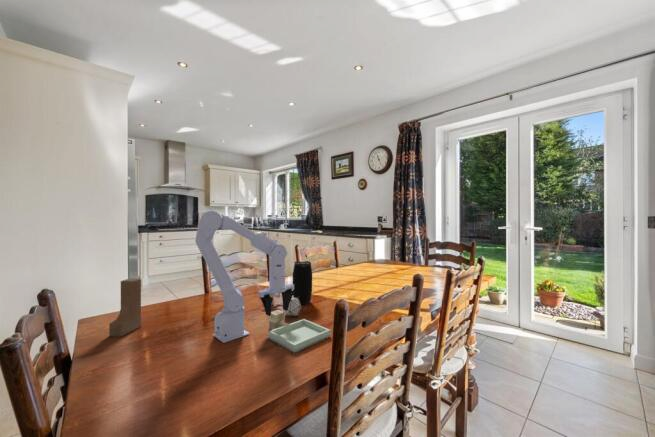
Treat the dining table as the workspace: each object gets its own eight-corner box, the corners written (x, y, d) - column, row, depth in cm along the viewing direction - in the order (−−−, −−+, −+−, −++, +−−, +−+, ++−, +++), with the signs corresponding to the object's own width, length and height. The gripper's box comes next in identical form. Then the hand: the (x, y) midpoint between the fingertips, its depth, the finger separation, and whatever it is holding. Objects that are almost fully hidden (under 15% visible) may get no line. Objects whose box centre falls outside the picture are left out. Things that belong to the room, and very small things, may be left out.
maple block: (275, 331, 100) (275, 315, 100) (269, 328, 103) (269, 312, 103) (284, 328, 103) (284, 312, 103) (278, 325, 106) (278, 309, 106)
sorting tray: (294, 353, 85) (294, 345, 85) (268, 338, 94) (268, 331, 94) (330, 337, 96) (330, 329, 96) (304, 325, 106) (304, 318, 106)
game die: (295, 323, 117) (309, 302, 120) (291, 323, 109) (306, 301, 112) (279, 310, 120) (292, 291, 122) (273, 310, 112) (288, 288, 114)
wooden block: (120, 337, 94) (120, 284, 94) (108, 336, 95) (108, 284, 94) (141, 326, 103) (141, 278, 103) (130, 326, 104) (130, 278, 103)
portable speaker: (289, 302, 133) (289, 261, 133) (305, 298, 139) (306, 259, 139) (298, 307, 126) (298, 264, 126) (315, 303, 132) (315, 262, 132)
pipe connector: (270, 309, 123) (270, 287, 123) (255, 305, 129) (256, 283, 129) (286, 304, 131) (286, 282, 131) (272, 299, 137) (272, 279, 137)
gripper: (266, 281, 95) (266, 320, 95) (299, 274, 105) (299, 310, 105) (255, 277, 100) (255, 315, 100) (287, 271, 110) (287, 305, 110)
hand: (277, 312), depth 103 cm, fingers open, 7 cm apart
